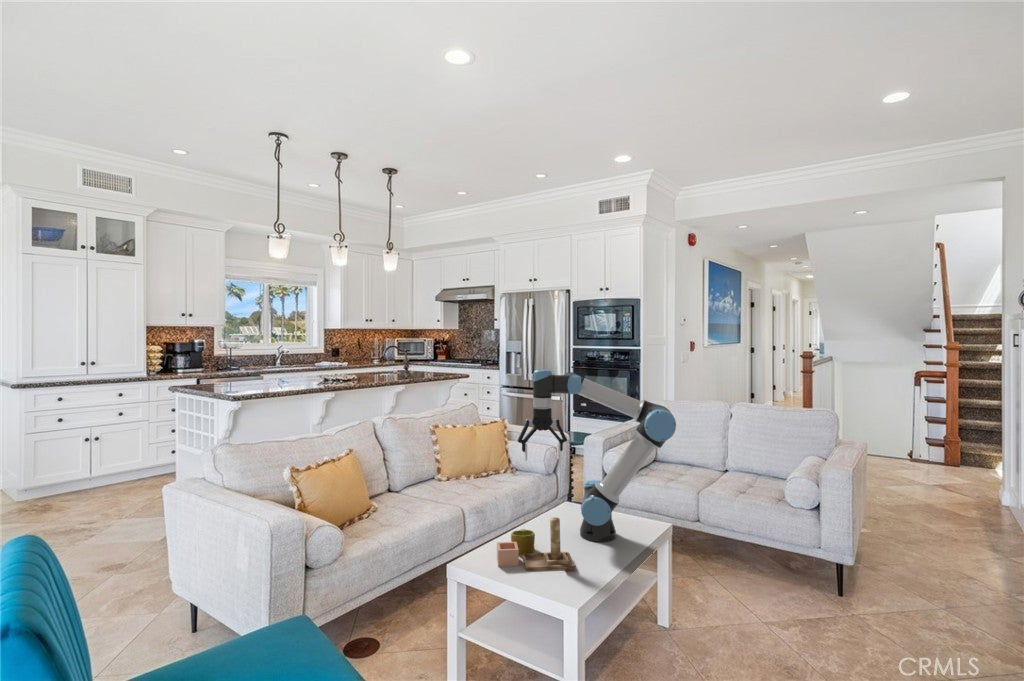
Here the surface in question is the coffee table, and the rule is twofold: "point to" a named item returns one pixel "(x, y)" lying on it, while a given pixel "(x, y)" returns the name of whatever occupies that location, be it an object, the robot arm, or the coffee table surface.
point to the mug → (524, 540)
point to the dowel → (555, 538)
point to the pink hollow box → (507, 554)
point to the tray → (548, 562)
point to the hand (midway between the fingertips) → (542, 459)
